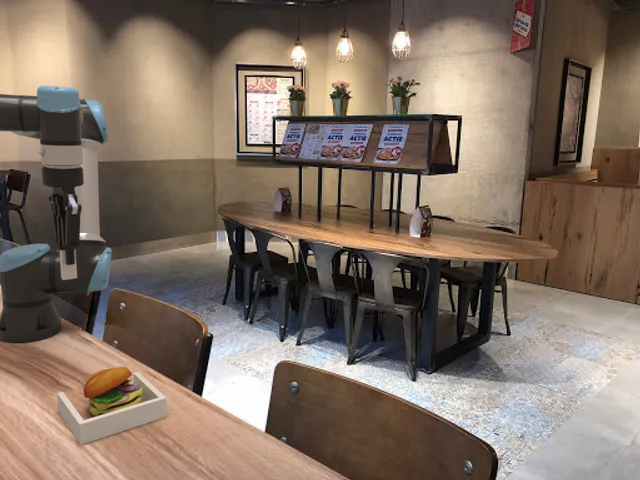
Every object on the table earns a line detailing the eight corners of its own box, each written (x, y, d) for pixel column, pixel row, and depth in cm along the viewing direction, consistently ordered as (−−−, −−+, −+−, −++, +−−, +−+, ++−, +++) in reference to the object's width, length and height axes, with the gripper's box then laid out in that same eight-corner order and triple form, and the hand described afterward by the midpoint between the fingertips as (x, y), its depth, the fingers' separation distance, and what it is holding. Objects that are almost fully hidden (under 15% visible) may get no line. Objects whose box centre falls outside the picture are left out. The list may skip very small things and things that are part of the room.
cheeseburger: (125, 429, 99) (112, 379, 98) (79, 431, 102) (65, 383, 101) (156, 402, 109) (144, 357, 107) (113, 405, 112) (101, 361, 110)
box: (58, 411, 104) (57, 393, 103) (138, 388, 114) (137, 371, 114) (80, 445, 94) (79, 424, 93) (166, 416, 104) (166, 398, 103)
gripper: (32, 163, 109) (40, 273, 114) (52, 170, 100) (60, 289, 105) (71, 162, 114) (77, 268, 119) (93, 169, 104) (98, 283, 110)
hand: (69, 278), depth 112 cm, fingers closed
